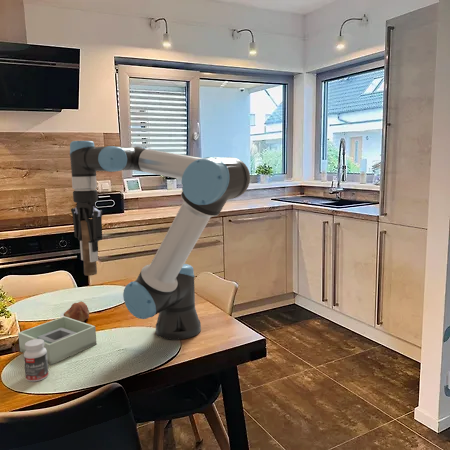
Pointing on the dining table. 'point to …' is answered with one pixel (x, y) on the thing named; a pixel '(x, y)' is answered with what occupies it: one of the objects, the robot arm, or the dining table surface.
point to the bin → (60, 337)
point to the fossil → (78, 312)
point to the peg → (87, 251)
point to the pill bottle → (35, 360)
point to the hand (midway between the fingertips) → (89, 260)
